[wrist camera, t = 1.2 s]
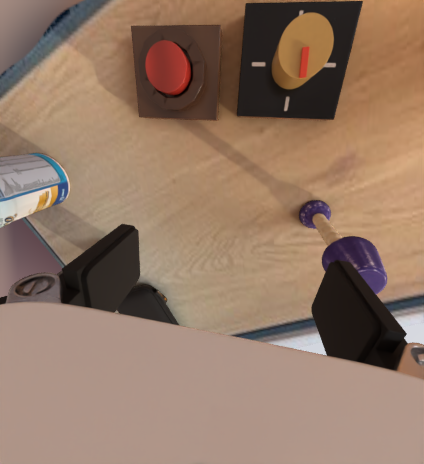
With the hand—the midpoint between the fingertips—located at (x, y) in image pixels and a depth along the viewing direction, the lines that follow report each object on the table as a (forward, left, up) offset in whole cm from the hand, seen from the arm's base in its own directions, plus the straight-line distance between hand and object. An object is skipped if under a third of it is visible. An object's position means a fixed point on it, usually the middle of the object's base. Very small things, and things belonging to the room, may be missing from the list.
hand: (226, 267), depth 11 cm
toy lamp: (-11, +4, -23) cm, 26 cm away
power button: (+9, -12, -19) cm, 24 cm away
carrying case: (+15, +28, -23) cm, 40 cm away
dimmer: (-4, -13, -23) cm, 27 cm away
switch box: (+9, -12, -23) cm, 27 cm away
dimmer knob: (-4, -13, -20) cm, 25 cm away
